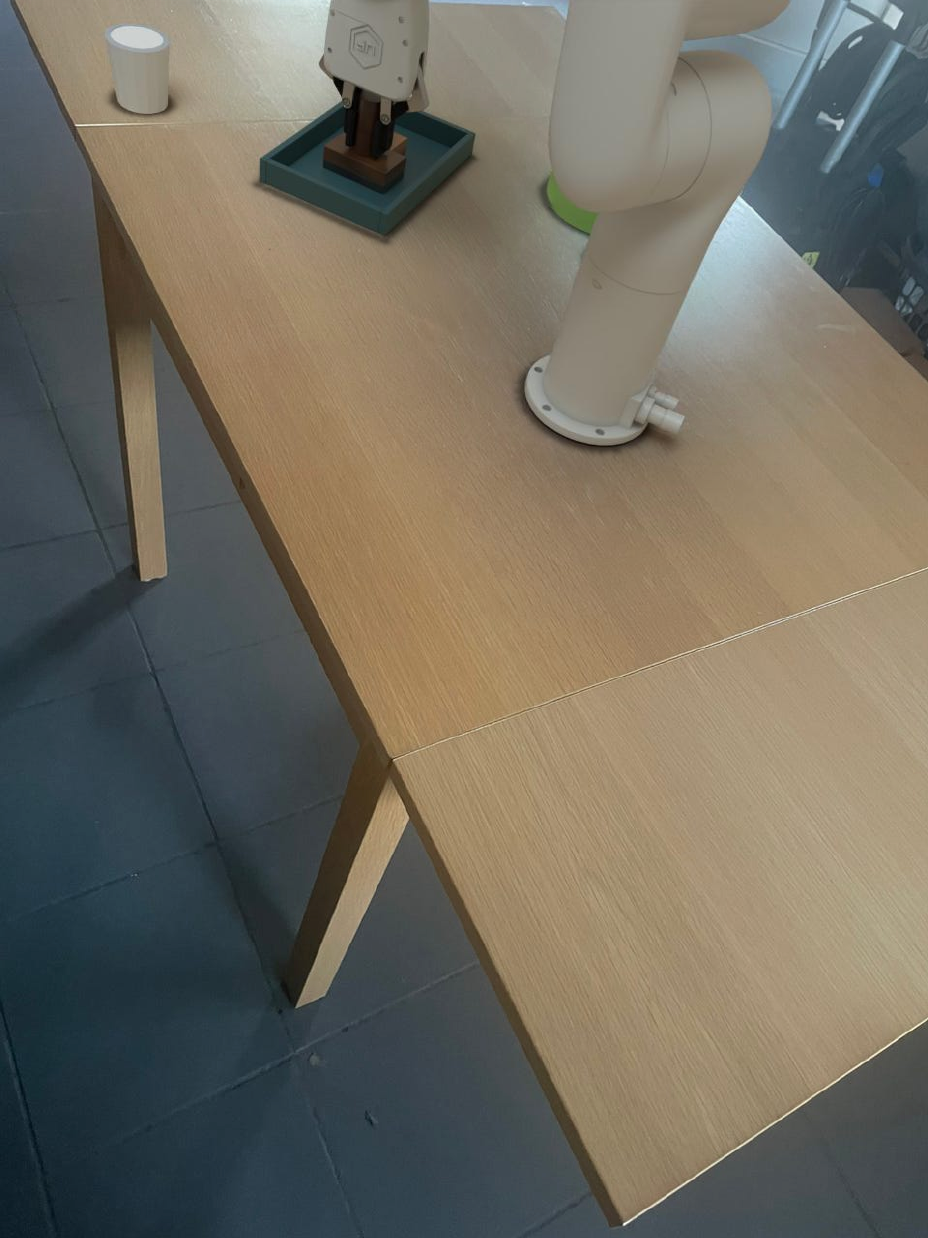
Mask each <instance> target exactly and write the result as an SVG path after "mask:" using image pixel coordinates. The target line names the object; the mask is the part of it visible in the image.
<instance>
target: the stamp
mask: <svg viewBox="0 0 928 1238" xmlns="http://www.w3.org/2000/svg"><path fill="white" fill-rule="evenodd" d="M380 109H381V96H379V95H376V94H374V93H371V92H369V91H363V92H361V93H360V96H359V107H358V117H357V127H356V137H355V145H354V146H352V147H348V146H346V145H345V140H346V133H344V132H343V133H342V134H340V135H339V136H337V137H336V138H334V139H333V140H332V141H330V142H329V143H327V144H326V145H324V153H323V167H324V168H326V169H328V170H330V171H333V172H335V173H337V174H339V175H341V176H344V177H346V178H348V179H350V180H353V181H355V182H357V183H359V184H361V185H364V186H366V187H368V188H370V189H372V190H375V191H377V192H379V193H381V194H384V193H385V192H387V191H388V190H389V189H390V188H392V187H393V186H394V185H395V184H397V183H398V182H399V181H400V180H401V179H403V178H404V171H405V165H406V158H407V157H405V156H403V155H401V154H398V153H396V152H394V151H392V150H388V151H386V152H385V153H384V154H382V155H381V156H380V157H379V158H378V159H376V158H374V157H372V155H371V151H372V142H373V133H374V124H375V122H376V121H377V120H378V119H379V118H380Z"/></svg>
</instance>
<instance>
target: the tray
mask: <svg viewBox="0 0 928 1238" xmlns="http://www.w3.org/2000/svg"><path fill="white" fill-rule="evenodd" d="M364 91H367V90H364ZM345 111H346V108H345V107H344V106H343V105H342V100H341V101H340V102H338V103H336V104H335V105H334V106H332V107H330V109H328V110H327V111H325V112H324V113H322V114H321V115H320V116H318V117H317V118H315V119H314V120H312V121H311V122H309V123H308V124H306V125H305V126H304V127H302V128H301V129H299V130H298V131H296V132H295V133H294V134H292V135H291V136H289V137H288V138H287V139H285V140H284V141H282V142H281V143H280V144H277V146H275V147H274V148H273V149H271V150H270V151H268V152H267V153H265V154H264V155H263V156H261V157H260V158H259V182H261V183H263V184H265V185H267V186H270V187H272V188H274V189H276V190H278V191H281V192H283V193H285V194H288V195H290V196H291V197H292V196H293V197H295V198H297V199H299V200H302V201H303V202H305V203H308V204H310V205H312V206H315V207H317V208H319V209H322V210H324V211H326V212H328V213H330V214H333V215H335V216H337V217H340V218H342V219H344V220H345V221H346V220H347V221H348V222H351V223H353V224H355V225H358V226H360V227H362V228H365V229H367V230H369V231H372V232H374V233H376V234H379V235H380V236H383V237H385V236H387V235H388V234H389V233H390V232H391V231H393V229H394V228H395V227H396V226H397V225H398V224H400V222H401V221H403V219H405V218H406V217H407V216H408V215H409V214H410V213H411V212H412V211H413V210H414V209H415V208H416V207H417V206H418V205H419V204H421V202H423V201H424V200H425V199H426V198H427V197H428V196H429V195H430V194H431V193H432V192H433V191H434V190H436V188H438V187H439V186H440V185H441V184H442V183H443V182H444V181H445V180H446V179H447V178H448V177H449V176H450V175H451V174H452V173H453V172H455V171H456V170H457V169H458V168H459V167H460V166H461V165H462V164H463V163H464V162H465V161H466V160H467V159H469V158H470V157H471V155H472V154H473V150H474V146H475V145H474V144H475V141H476V140H475V139H476V135H477V134H476V133H475V132H474V131H471V130H469V129H466V128H464V127H462V126H459V125H457V124H455V123H453V122H450V121H447V120H445V119H443V118H441V117H438V116H435V115H433V114H431V113H428V112H426V111H424V110H423V111H418V112H411V113H410V112H408V113H405V114H403V115H401V116H400V117H398V118H397V119H395V127H394V132H395V133H397V134H400V135H402V136H404V137H407V145H406V152H405V157H407V158H406V165H405V171H404V178H403V179H401V180H400V181H399V182H398V183H397V184H395V185H394V186H393V187H392V188H390V189H389V190H388V191H387V192H385V193H384V194H381V193H379V192H377V191H375V190H372V189H370V188H368V187H366V186H364V185H361V184H359V183H357V182H355V181H353V180H350V179H348V178H346V177H344V176H341V175H339V174H337V173H335V172H333V171H330V170H328V169H326V168H324V167H323V153H324V145H326V144H327V143H329V142H330V141H332V140H333V139H334V138H336V137H337V136H339V135H340V134H342V133H343V132H344V122H345Z"/></svg>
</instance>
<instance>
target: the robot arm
mask: <svg viewBox="0 0 928 1238" xmlns="http://www.w3.org/2000/svg"><path fill="white" fill-rule="evenodd" d="M791 1H792V0H569V1H568V8H567V13H566V19H565V25H564V29H563V37H562V43H561V48H560V54H559V59H558V65H557V71H556V76H555V82H554V89H553V94H552V100H551V106H550V114H549V122H548V123H549V125H548V155H549V163H550V166H551V171H553V175H554V178H555V180H556V183H557V185H558V187H559V188H560V190H561V192H562V193H563V195H564V196H565V197H566V198H567V199H568V200H569V201H570V202H571V203H572V204H574V205H575V206H577V207H579V208H581V209H583V210H586V211H590V212H596V213H598V215H597V217H596V220H595V222H594V225H593V227H592V230H591V233H590V234H589V237H588V240H587V242H586V245H585V248H584V251H583V255H582V257H581V259H580V260H581V261H580V263H579V266H578V270H577V273H576V275H575V279H574V282H573V285H572V288H571V291H570V294H569V297H568V301H567V303H566V307H565V310H564V313H563V315H562V319H561V322H560V325H559V328H558V331H557V334H556V337H555V340H554V344H553V346H552V350H551V353H550V354H547V355H545V356H543V357H541V358H539V359H538V360H537V361H535V362H534V363H533V364H532V365H531V367H530V369H529V370H528V372H527V375H526V378H525V381H524V389H523V390H524V397H525V399H526V402H527V404H528V406H529V408H530V409H531V411H532V412H533V413H534V415H535V416H536V417H537V418H538V419H539V420H540V421H541V422H542V423H543V424H544V425H546V426H547V427H549V428H550V429H551V430H553V432H556V433H557V434H560V435H561V436H564V437H565V438H568V439H570V440H573V441H576V442H579V443H583V444H587V445H592V446H593V445H594V446H616V445H621V444H625V443H628V442H631V441H632V440H635V438H637V437H638V436H640V435H641V434H642V433H643V432H644V430H645V429H646V427H647V425H648V423H649V424H652V425H654V426H656V427H658V428H659V429H660V430H663V431H665V432H668V433H669V434H672V435H674V436H677V435H678V433H679V431H680V429H681V427H682V424H683V423H684V419H685V418H686V416H685V415H683V414H681V413H678V412H676V411H675V409H676V407H677V405H678V403H679V401H680V399H679V398H677V397H674V396H672V395H670V394H666V393H664V392H662V391H659V390H658V386H655V385H653V384H654V382H655V379H656V378H657V374H658V370H656V369H655V368H656V366H657V363H658V361H659V359H660V357H661V354H662V352H663V350H664V347H665V346H666V343H667V340H668V338H669V336H670V334H671V332H672V329H673V327H674V325H675V323H676V320H677V318H678V316H679V313H680V311H681V309H682V307H683V305H684V302H685V300H686V297H687V295H688V293H689V291H690V289H691V287H692V284H693V282H694V281H695V278H696V276H697V274H698V271H699V270H700V267H701V264H702V263H703V260H704V259H705V257H706V254H707V251H708V250H709V247H710V245H711V244H712V241H713V239H714V237H715V236H716V233H717V231H718V230H719V228H720V226H721V225H722V223H723V221H724V219H725V217H726V216H727V215H728V213H729V211H730V209H731V208H732V206H733V205H734V204H735V202H736V200H737V199H738V198H739V196H740V195H741V193H742V191H743V190H744V188H745V187H746V185H747V183H748V182H749V180H750V179H751V177H752V176H753V174H754V172H755V170H756V168H757V167H758V165H759V163H760V161H761V158H762V156H763V154H764V151H765V150H766V147H767V144H768V141H769V137H770V132H771V128H772V119H773V106H772V104H773V103H772V98H771V92H770V90H769V87H768V83H767V82H766V80H765V78H764V76H763V74H762V73H761V72H760V71H759V69H758V68H757V67H756V65H755V64H753V63H752V62H751V61H749V60H748V59H746V58H745V57H743V56H742V55H739V54H737V53H734V52H732V51H726V50H721V49H693V50H684V51H681V49H682V46H683V43H684V42H687V41H696V40H704V39H713V38H714V39H715V38H724V37H730V36H736V35H741V34H747V33H750V32H752V31H756V30H760V29H761V28H764V27H765V26H767V25H769V24H771V23H772V22H774V21H775V20H776V19H777V18H778V17H780V16H781V14H782V13H784V11H785V10H786V9H787V7H788V6H789V5H790V3H791ZM329 3H330V4H329V9H328V15H327V22H326V28H325V36H324V44H323V54H322V55H321V58H320V60H319V61H318V67H319V68H320V69H321V71H322V72H323V73H324V74H325V75H326V76H327V77H328V78H329V79H330V80H332V83H333V85H334V87H335V88H336V90H337V92H338V93H339V95H340V97H341V101H342V105H343V106H344V107H345V108H346V111H345V122H344V133H346V140H345V145H346V146H348V147H352V146H354V145H355V137H356V127H357V117H358V107H359V96H360V93H361V92H363V91H364V90H367V91H369V92H371V93H374V94H376V95H379V96H381V109H380V118H379V119H378V120H377V121H376V122H375V124H374V133H373V142H372V151H371V155H372V157H374V158H376V159H378V158H379V157H380V156H381V155H382V154H384V153H385V152H386V151H388V150H389V149H390V148H391V146H392V142H393V135H394V127H395V119H397V118H398V117H400V116H401V115H403V114H405V113H408V112H410V113H411V112H418V111H424V110H425V109H427V108H428V107H429V106H430V99H429V95H428V90H427V86H426V81H425V75H426V68H427V60H428V50H429V38H430V37H429V36H430V34H429V33H430V0H330V2H329Z"/></svg>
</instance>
